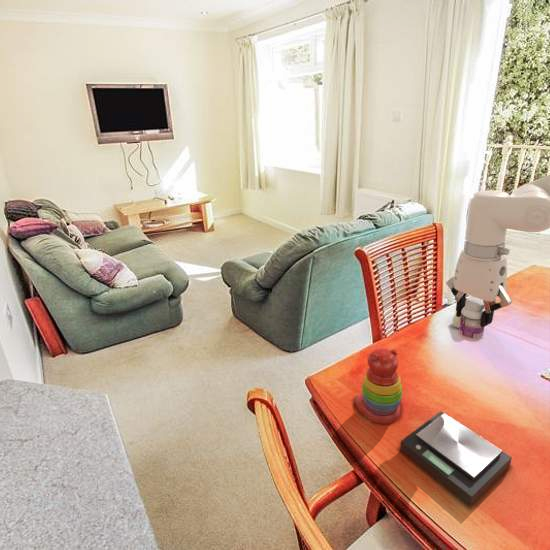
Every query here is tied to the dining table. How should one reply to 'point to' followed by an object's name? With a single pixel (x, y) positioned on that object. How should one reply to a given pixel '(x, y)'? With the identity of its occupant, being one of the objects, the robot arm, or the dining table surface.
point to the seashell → (456, 321)
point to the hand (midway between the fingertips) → (472, 319)
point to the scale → (452, 468)
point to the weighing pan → (459, 445)
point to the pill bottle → (471, 320)
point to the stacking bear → (381, 387)
